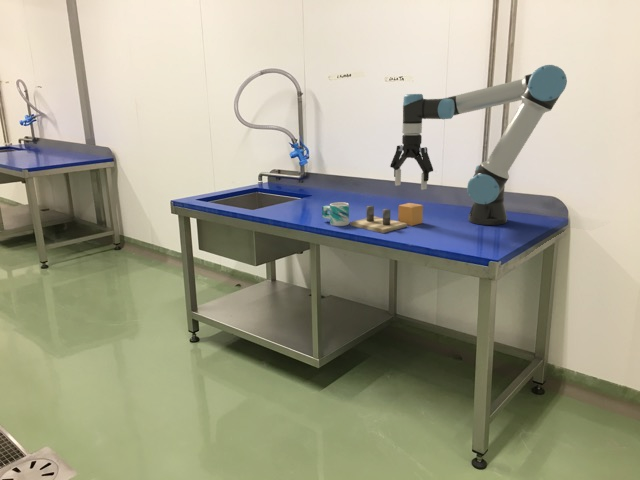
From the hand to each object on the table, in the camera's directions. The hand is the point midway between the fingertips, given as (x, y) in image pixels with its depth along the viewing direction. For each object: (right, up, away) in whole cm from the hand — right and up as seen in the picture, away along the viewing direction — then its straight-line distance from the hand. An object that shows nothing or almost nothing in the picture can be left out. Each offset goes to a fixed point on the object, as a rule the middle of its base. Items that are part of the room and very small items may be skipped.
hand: (410, 187), depth 217 cm
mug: (-30, -15, +8) cm, 35 cm away
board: (-13, -16, 0) cm, 21 cm away
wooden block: (+1, -14, +4) cm, 15 cm away
